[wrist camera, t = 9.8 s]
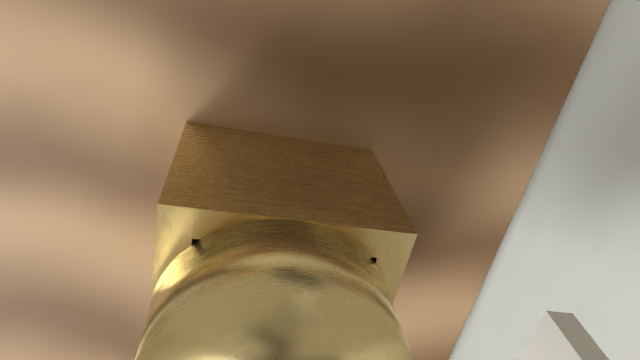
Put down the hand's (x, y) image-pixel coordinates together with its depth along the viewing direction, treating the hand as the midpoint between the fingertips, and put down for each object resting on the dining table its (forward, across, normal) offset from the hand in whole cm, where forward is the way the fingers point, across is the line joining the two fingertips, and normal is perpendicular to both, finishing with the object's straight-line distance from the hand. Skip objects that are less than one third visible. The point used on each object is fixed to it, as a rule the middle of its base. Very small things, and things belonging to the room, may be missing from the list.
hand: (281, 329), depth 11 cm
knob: (+6, 0, -1) cm, 6 cm away
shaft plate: (+7, 0, -1) cm, 7 cm away
